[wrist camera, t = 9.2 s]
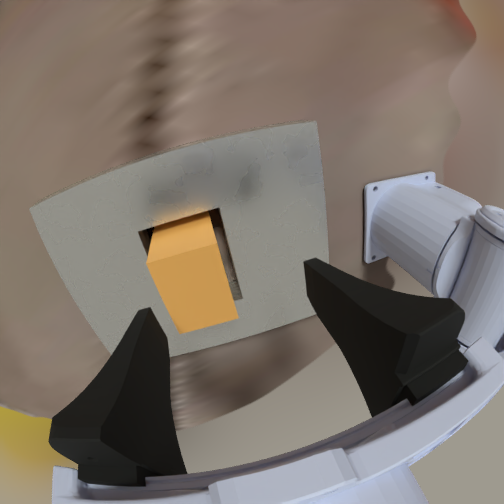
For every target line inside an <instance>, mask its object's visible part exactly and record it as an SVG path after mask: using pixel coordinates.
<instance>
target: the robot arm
mask: <svg viewBox="0 0 504 504" xmlns="http://www.w3.org/2000/svg"><path fill="white" fill-rule="evenodd" d="M425 177H426V178H425ZM374 187H375V190H374V191H373V188H374ZM364 200H365V237H364V261H365V262H366V263H371V262H374V261H377V260H379V259H382V258H385V257H387V256H388V257H390V258H391V259H392V260H393V261H395V262H396V263H397V264H399V266H401V267H402V268H403V269H404V270H405V271H407V272H408V273H409V274H410V275H411V276H413V277H414V278H415V279H416V280H417V281H418V282H419V283H421V284H422V285H423V286H424V287H425V288H426V289H427V290H428V291H430V292H431V293H432V294H433V295H434V297H424V296H416V295H410V294H406V293H401V292H397V291H393V290H389V289H386V288H383V287H379V286H376V285H373V284H371V283H368V282H366V281H363V280H361V279H358V278H356V277H354V276H352V275H350V274H347V273H345V272H343V271H341V270H339V269H337V268H335V267H333V266H331V265H329V264H328V263H326V262H324V261H322V260H320V259H318V258H312V259H309V260H306V261H303V264H304V272H305V282H306V291H307V297H308V299H309V301H310V303H311V305H312V307H313V309H314V311H315V313H316V314H317V316H318V317H319V319H320V320H321V321H322V323H323V324H324V326H325V327H326V329H327V330H328V332H329V333H330V334H331V336H332V337H333V339H334V340H335V342H336V343H337V345H338V346H339V348H340V349H341V351H342V353H343V355H344V356H345V358H346V360H347V362H348V364H349V366H350V368H351V370H352V372H353V374H354V376H355V378H356V380H357V383H358V385H359V387H360V389H361V392H362V394H363V396H364V398H365V401H366V403H367V406H368V408H369V411H370V413H371V416H372V418H371V419H369V420H367V421H365V422H363V423H360V424H358V425H356V426H354V427H352V428H350V429H348V430H345V431H343V432H341V433H339V434H336V435H334V436H331V437H329V438H327V439H324V440H321V441H319V442H316V443H314V444H311V445H308V446H306V447H302V448H300V449H297V450H294V451H291V452H287V453H284V454H281V455H278V456H274V457H271V458H267V459H264V460H260V461H256V462H252V463H247V464H243V465H239V466H234V467H229V468H224V469H218V470H212V471H206V472H200V473H191V474H187V471H186V468H185V465H184V462H183V458H182V456H181V452H180V448H179V444H178V440H177V436H176V431H175V426H174V421H173V415H172V409H171V400H170V354H169V346H168V338H167V336H166V334H165V332H164V331H163V329H162V327H161V325H160V324H159V322H158V320H157V318H156V317H155V315H154V313H153V311H152V309H151V307H148V308H144V309H141V310H138V312H137V313H136V315H135V316H134V318H133V320H132V322H131V323H130V325H129V327H128V329H127V330H126V332H125V334H124V335H123V337H122V339H121V341H120V342H119V344H118V346H117V347H116V349H115V350H114V352H113V353H112V355H111V357H110V358H109V360H108V361H107V363H106V364H105V365H104V367H103V368H102V369H101V371H100V372H99V373H98V375H97V376H96V377H95V378H94V379H93V380H92V382H91V383H90V384H89V385H88V386H87V387H86V388H85V390H84V391H83V392H82V393H81V394H80V395H79V396H78V397H77V398H75V399H74V400H73V401H72V402H71V403H70V404H69V405H68V406H67V407H65V408H64V409H63V410H61V411H60V412H59V413H58V414H56V415H55V416H54V417H53V418H52V424H51V429H50V436H49V443H50V445H51V447H52V448H53V449H54V450H56V451H57V452H58V453H60V454H62V455H63V456H65V457H67V458H68V459H70V460H72V461H74V462H75V463H77V464H78V470H77V469H73V468H69V467H61V466H54V468H53V483H52V504H429V503H428V501H427V499H426V497H425V495H424V494H423V492H422V490H421V488H420V486H419V485H418V483H417V481H416V479H415V477H414V476H413V474H412V472H411V470H410V469H409V466H410V465H412V464H413V463H415V462H416V461H418V460H419V459H421V458H422V457H424V456H425V455H427V454H428V453H429V452H431V451H432V450H434V449H435V448H436V447H438V446H439V445H440V444H442V443H443V442H444V441H445V440H447V439H448V438H449V437H450V436H451V435H453V434H454V433H455V432H457V431H458V430H459V429H460V428H461V427H462V426H464V425H465V424H466V423H467V422H468V421H469V420H470V419H471V418H472V417H474V416H475V415H476V414H477V413H478V412H479V411H480V410H481V409H482V408H483V407H484V406H485V405H486V404H487V403H488V402H489V401H490V400H491V399H492V398H493V397H494V396H495V394H496V393H497V392H498V391H499V390H500V389H501V387H502V386H503V385H504V210H503V209H501V208H498V207H495V206H490V205H486V206H484V207H482V206H481V205H480V204H479V203H478V202H477V201H475V200H473V199H472V198H470V197H468V196H465V195H463V194H461V193H459V192H457V191H455V190H453V189H450V188H448V187H446V186H444V185H441V184H439V183H437V182H435V173H434V172H431V171H430V172H425V173H420V174H414V175H409V176H404V177H399V178H394V179H389V180H384V181H379V182H374V183H369V184H367V185H366V186H365V188H364Z"/></svg>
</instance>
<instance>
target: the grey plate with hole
mask: <svg viewBox="0 0 504 504" xmlns="http://www.w3.org/2000/svg"><path fill="white" fill-rule="evenodd" d="M215 208H218V210H219V214H220V218H221V222H222V226H223V230H224V234H225V238H226V242H227V245H228V249H229V253H230V257H231V261H232V264H233V268H234V272H235V276H236V279H237V281H235V282H231V283H229V287H230V290H231V294H232V297H233V300H234V304H235V307H236V310H237V314H238V317H239V318H238V319H234V320H231V321H227V322H224V323H220V324H216V325H213V326H209V327H205V328H202V329H198V330H194V331H190V332H186V333H182V334H179V332H178V330H177V328H176V326H175V324H174V322H173V320H172V318H171V316H170V314H169V312H168V310H167V308H166V306H165V304H164V302H163V300H162V298H161V296H160V294H159V291H158V289H157V287H156V285H155V283H154V280H153V278H152V276H151V274H150V271H149V269H148V267H147V264H146V262H147V257H148V253H149V248H150V243H151V240H150V237H149V234H148V232H147V228H151V227H154V226H157V225H160V224H164V223H167V222H170V221H173V220H177V219H180V218H184V217H187V216H190V215H194V214H197V213H201V212H204V211H208V210H212V209H215ZM29 209H30V212H31V215H32V217H33V220H34V222H35V224H36V227H37V229H38V231H39V234H40V236H41V238H42V240H43V242H44V245H45V247H46V249H47V251H48V253H49V255H50V257H51V259H52V261H53V263H54V265H55V267H56V269H57V271H58V273H59V274H60V276H61V278H62V280H63V282H64V284H65V285H66V287H67V289H68V291H69V292H70V294H71V296H72V297H73V299H74V301H75V302H76V304H77V306H78V307H79V309H80V310H81V312H82V313H83V315H84V317H85V318H86V320H87V321H88V323H89V324H90V326H91V327H92V329H93V330H94V332H95V333H96V334H97V336H98V337H99V339H100V340H101V341H102V343H103V344H104V346H105V347H106V348H107V350H108V351H109V352H110V354H111V355H112V353H113V352H114V350H115V349H116V347H117V346H118V344H119V342H120V341H121V339H122V337H123V335H124V334H125V332H126V330H127V329H128V327H129V325H130V323H131V322H132V320H133V318H134V316H135V315H136V313H137V312H138V310H141V309H144V308H148V307H151V309H152V311H153V313H154V315H155V317H156V318H157V320H158V322H159V324H160V325H161V327H162V329H163V331H164V332H165V334H166V336H167V338H168V346H169V354H170V357H173V356H177V355H181V354H185V353H189V352H193V351H197V350H201V349H205V348H209V347H213V346H217V345H220V344H224V343H228V342H231V341H235V340H238V339H242V338H245V337H248V336H252V335H255V334H258V333H262V332H265V331H268V330H271V329H274V328H277V327H280V326H283V325H287V324H290V323H292V322H295V321H298V320H301V319H304V318H307V317H310V316H313V315H315V314H316V313H315V311H314V309H313V307H312V305H311V303H310V301H309V299H308V297H307V291H306V282H305V272H304V264H303V261H306V260H309V259H312V258H318V259H320V260H322V261H324V262H326V263H328V264H329V253H328V233H327V218H326V204H325V192H324V181H323V172H322V162H321V154H320V146H319V138H318V130H317V123H316V121H308V120H297V121H290V122H284V123H277V124H271V125H266V126H260V127H255V128H250V129H245V130H240V131H235V132H230V133H226V134H222V135H217V136H213V137H209V138H205V139H201V140H197V141H194V142H190V143H186V144H183V145H179V146H176V147H172V148H169V149H166V150H162V151H159V152H156V153H153V154H150V155H147V156H144V157H141V158H138V159H135V160H132V161H129V162H126V163H124V164H121V165H118V166H116V167H113V168H110V169H108V170H105V171H103V172H100V173H98V174H95V175H93V176H90V177H88V178H86V179H83V180H81V181H79V182H76V183H74V184H72V185H70V186H67V187H65V188H63V189H61V190H59V191H57V192H55V193H53V194H51V195H49V196H46V197H44V198H43V199H42V200H40V201H39V202H37V203H36V204H35V205H33V206H32V207H31V208H29Z"/></svg>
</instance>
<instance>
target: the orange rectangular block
mask: <svg viewBox="0 0 504 504" xmlns="http://www.w3.org/2000/svg"><path fill="white" fill-rule="evenodd" d="M146 264H147V267H148V269H149V271H150V274H151V276H152V278H153V280H154V283H155V285H156V287H157V289H158V291H159V294H160V296H161V298H162V300H163V302H164V304H165V306H166V308H167V310H168V312H169V314H170V316H171V318H172V320H173V322H174V324H175V326H176V328H177V330H178V332H179V334H182V333H186V332H190V331H194V330H198V329H202V328H205V327H209V326H213V325H216V324H220V323H224V322H227V321H231V320H234V319H238V318H239V317H238V314H237V310H236V307H235V304H234V300H233V297H232V294H231V290H230V287H229V283H228V280H227V276H226V273H225V269H224V266H223V262H222V259H221V255H220V252H219V248H218V245H217V241H216V237H215V234H214V230H213V227H212V223H211V219H210V215H209V212H208V211H204V212H201V213H197V214H194V215H190V216H187V217H184V218H180V219H177V220H173V221H170V222H167V223H164V224H160V225H157V226H154V231H153V235H152V239H151V243H150V248H149V253H148V257H147V262H146Z"/></svg>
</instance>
